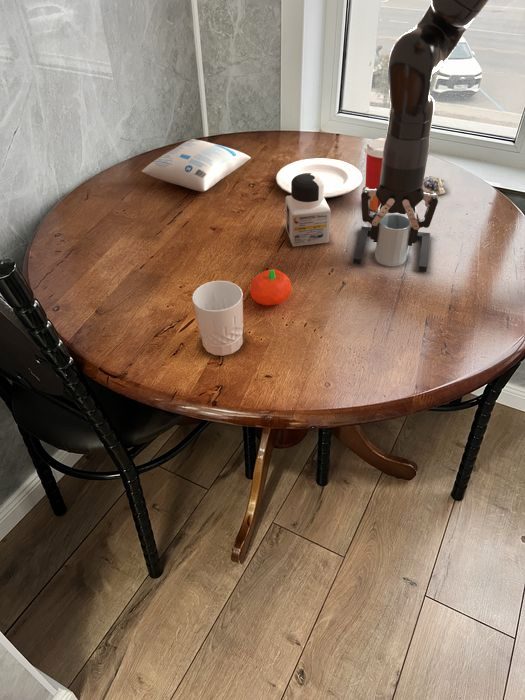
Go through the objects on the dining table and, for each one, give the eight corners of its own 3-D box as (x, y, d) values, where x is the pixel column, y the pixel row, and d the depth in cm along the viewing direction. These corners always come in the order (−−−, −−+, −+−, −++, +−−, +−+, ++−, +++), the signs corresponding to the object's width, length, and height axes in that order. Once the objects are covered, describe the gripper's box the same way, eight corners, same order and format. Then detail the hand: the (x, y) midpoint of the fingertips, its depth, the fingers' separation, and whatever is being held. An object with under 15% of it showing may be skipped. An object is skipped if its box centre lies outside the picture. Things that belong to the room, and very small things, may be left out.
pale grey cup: (406, 251, 109) (412, 215, 103) (404, 267, 105) (410, 231, 99) (376, 248, 110) (381, 212, 105) (373, 264, 106) (377, 228, 100)
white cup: (212, 323, 95) (206, 276, 88) (253, 333, 92) (250, 286, 86) (191, 352, 90) (183, 304, 83) (234, 363, 87) (229, 315, 80)
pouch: (201, 173, 121) (249, 138, 132) (137, 159, 129) (188, 127, 141) (207, 205, 126) (252, 168, 138) (145, 190, 134) (193, 156, 146)
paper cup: (394, 197, 125) (402, 137, 116) (394, 214, 120) (403, 152, 110) (360, 196, 126) (365, 136, 117) (358, 212, 121) (364, 151, 111)
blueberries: (437, 177, 131) (439, 170, 130) (454, 192, 126) (456, 184, 124) (412, 182, 130) (413, 174, 129) (428, 197, 125) (430, 189, 123)
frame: (429, 238, 112) (430, 232, 111) (426, 272, 103) (427, 266, 102) (361, 231, 115) (361, 226, 114) (353, 263, 106) (353, 258, 105)
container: (292, 247, 111) (292, 188, 103) (285, 228, 117) (284, 171, 108) (329, 243, 112) (332, 184, 103) (320, 224, 118) (322, 167, 109)
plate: (340, 212, 121) (341, 204, 120) (260, 193, 129) (260, 185, 128) (374, 174, 134) (375, 166, 133) (299, 159, 142) (299, 152, 141)
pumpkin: (241, 302, 99) (239, 273, 94) (270, 282, 103) (269, 253, 98) (271, 318, 95) (270, 289, 91) (299, 296, 99) (300, 267, 95)
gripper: (360, 164, 92) (353, 248, 104) (447, 170, 89) (430, 256, 101) (365, 146, 98) (358, 228, 109) (448, 152, 95) (431, 235, 106)
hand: (392, 241), depth 105 cm, fingers closed on pale grey cup, 6 cm apart
